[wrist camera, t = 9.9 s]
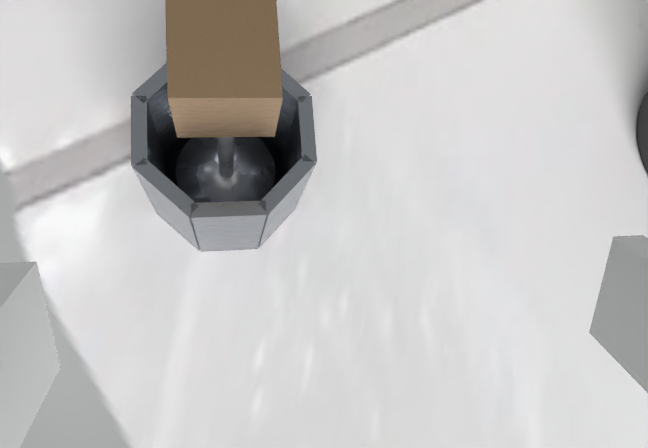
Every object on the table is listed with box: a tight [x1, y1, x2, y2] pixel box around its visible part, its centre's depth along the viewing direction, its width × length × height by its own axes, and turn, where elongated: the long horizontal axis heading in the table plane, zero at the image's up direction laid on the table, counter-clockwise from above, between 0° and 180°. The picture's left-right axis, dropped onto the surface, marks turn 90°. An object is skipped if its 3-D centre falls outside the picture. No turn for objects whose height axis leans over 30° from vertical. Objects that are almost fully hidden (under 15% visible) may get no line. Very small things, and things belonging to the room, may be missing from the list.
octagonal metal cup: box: [131, 63, 317, 252], centre depth 34 cm, size 10×10×10 cm
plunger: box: [166, 0, 283, 203], centre depth 29 cm, size 7×7×16 cm
